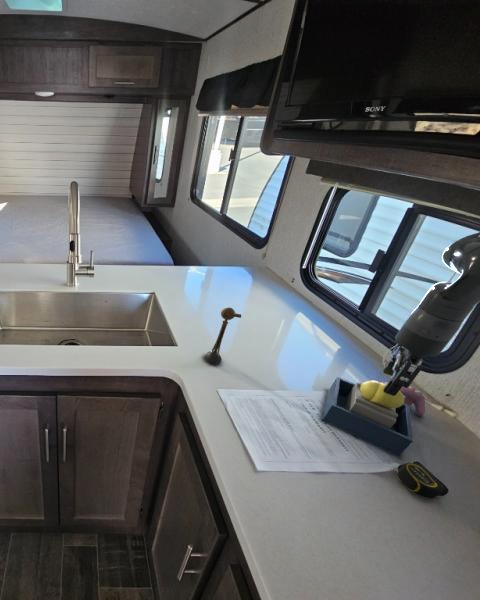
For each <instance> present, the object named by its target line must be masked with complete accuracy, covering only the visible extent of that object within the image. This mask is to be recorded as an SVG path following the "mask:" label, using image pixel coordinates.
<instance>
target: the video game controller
mask: <svg viewBox="0 0 480 600" xmlns="http://www.w3.org/2000/svg"><path fill="white" fill-rule="evenodd" d="M388 382H389V381H385V382H382V383H383V384H386V385H387V383H388ZM399 391H400V392H401V393H402V394H403V396H404V404H406V405H409V406H410V407H411V405H413V406H414V409H415V412H416V414H417V416H418V417H423V416H424V414H425V413H426V398H425V395H424V394H423V392H421V391H420V390H419V389H416V388H414V387H412V386H411V385H409V387H408V388H405V387H402V388H401V389H400V390H399Z"/></svg>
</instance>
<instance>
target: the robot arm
mask: <svg viewBox="0 0 480 600" xmlns="http://www.w3.org/2000/svg"><path fill="white" fill-rule="evenodd" d="M441 259H442V262H443V264H444V265H445V266H446V267H448V268H449V269H450V270H453V271H454V272H456V273H457V274H459V275H460V276H459V277H458V278H457V279H456V280H455V281H453V282H449V281H440V282H437V283H435V284H433V285H432V286H431V287H430V288H429V289H428V291H427V292H426V294H425V295H424V296H423V298H422V299H421V301H420V303H419V304H418V305H417V306H416V307H415V309H414V310H412V312H411V313H410V314H409V315H408V317H407V318H406V319H405V322H404V323H403V325H402V326H401V327H400V329H399V331H398V332H397V333H396V334H395V337H394V340H395V342H396V345H395V346H394V348H393V349H392V350H391V352H390V353H391V356H389V361H388V363H387V364H386V365H385V367H384V368H383V373H384V374H385V375H389V376H391V377H390V379H389V381H387V382H388V383H387V385H386V386H385V387H384V389H383V391H384V392H385V393H387V394H390V395H392V396H395V395H396V394H397V393H398V392H399V390H400V389H401V388H402V387H405V388H408V387H409V386H411V384H412V383H413V381H414V380H415V379H416V377H417V376H418V374H420V372H421V371H422V370H423V366H422V363H423V360H424V359H423V357H436V356H439V355H440V354H441V353H442V351H443V350H444V349H445V348H446V346H447V345H448V344H449V343H450V342H451V340H452V339H453V338H454V336H455V335H456V334H457V333H458V332H459V330H460V328H461V326H462V325H463V323H464V321H465V320H466V318H467V317H468V316H469V315H470V314H471V312H472V311H473V310H474V309H475V307H476V305H478V304H479V303H480V231H479V232H476V233H472V234H469V235H466V236H464V237H461V238H459V239H457V240H455V241H454V242H452V243H450V245H449V246H447V247H446V248H445V249H444V251H443V253H442V256H441Z"/></svg>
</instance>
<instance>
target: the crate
mask: <svg viewBox="0 0 480 600" xmlns="http://www.w3.org/2000/svg"><path fill="white" fill-rule="evenodd" d="M355 384H356V383H354V382H352V381H349V380H347V379H345V378H342V377H340V376H337V377H336V378H335V379H334V381H333V383H332V384H331V386H330V388H329V389H328V391H327V396H326V401H325V405H324V410H323V415H322V421H323V422H325V423H328V424H330V425H331V426H334V427H336V428H338V429H339V430H342V431H345V432H347V433H348V434H351V435H353V436H355V437H357V438H359V439H361V440H363V441H364V442H365V441H366V442H368V443H369V444H371V445H374V446H376V447H377V448H381V449H382V450H384V451H387V452H388V453H390V454H392V455H395V456H397V457H400V456H401V455H402V454H403V453H404V452H405V451H406V450H407V449H408V447H410V445H411V444H412V443H413V442H414V438H413V437H414V436H413V428H412V427H413V426H412V416H411V405H410V406H409V405H406V404H404V403H403V405H402V406H400V407H398V408H396V413H397V414H398V417H397V418H396V422H395V423H394V425H393V426H392V427H391V428H390V429H389V428H387V427H384V426H382V425H380V424H378V423H375V422H373V421H371V420H369V419H366V418H364V417H362V416H360V415H357V414H355V413H353V412H351V411H348V410H346V409H344V401H345V399H346V397H347V396H348V394H349V393H350V391H351V390H352V388H353V387H354V385H355Z"/></svg>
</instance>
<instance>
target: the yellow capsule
mask: <svg viewBox="0 0 480 600" xmlns="http://www.w3.org/2000/svg"><path fill="white" fill-rule="evenodd" d="M383 383H384V382H381V381H378V380H374V379H371V380H366V381H364V382H363V383H362V385H361V387H360V391H361V394H362V395H363V396H364V397H365V398H366V399H368V400H370V401H372V402H374V403H377V404H379V405H382V406H384V407H387V408H398V407H400V406H402V405H403V403H404V396H403V394H402V393H401V392H400V391H399V392H398V393H397V394H396V395H395V396H392V395H390V394H387V393H385V392H384V391H383V389H384V387H385V386H386V384H383Z"/></svg>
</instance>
